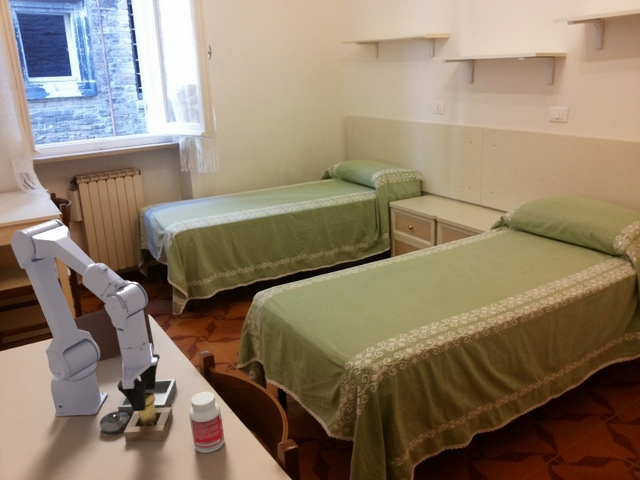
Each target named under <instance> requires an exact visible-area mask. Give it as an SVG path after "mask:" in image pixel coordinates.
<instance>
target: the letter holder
mask: <svg viewBox="0 0 640 480" xmlns="http://www.w3.org/2000/svg"><path fill="white" fill-rule="evenodd" d="M142 310H143V312H144V317H145V323H146V328H147V334H148V340H149V344H152V346H153V349H154V347H155V345H154V339H153V332H152V327H151V322H150V317H149V309H148V307H147V306H146V307H144V308H143V309H142ZM73 319H74V321H75V323H76V326H77V328H78V329H79V330H83V331H87V332H89V333H90V335H91V337H92V338H93V340H94V341H95V342H96V344H97V345H98V347H99V350H100V359H99V360H98V361H97V362H100V361H104V360H108V359H111V358H112V359H113V358H116V357H120V356H121V351H120V345H119V340H118V335H117V330H116V327H114V325H113V324H112V320H111V317H110V316H109V314H108V313H107V311H106V309H105V308H104V309H101V310H97V311H94V312H90V313H87V314H84V315H80V316H78V317H75V318H73ZM121 357H122V356H121Z"/></svg>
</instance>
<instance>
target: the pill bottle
mask: <svg viewBox="0 0 640 480" xmlns="http://www.w3.org/2000/svg"><path fill="white" fill-rule="evenodd" d="M190 401H191V407H190V410H189V412H188V413H189V414H188V415H189V420H190V428H191V433H192V440H193V446H194V448H195V449H196V451H198V452H200V453H203V454H204V453H205V454H206V453H212V452H216V451H218V449H220V448H221V447H223V445H224V443H225V434H224V427H223V419H222V413H221V407H220V405H219V404H218V402H216V397H215V394H214V393H213V392H211V391H202V392H198V393H196V394H194V395H193V396H192V397H191V399H190Z"/></svg>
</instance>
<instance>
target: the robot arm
mask: <svg viewBox="0 0 640 480" xmlns="http://www.w3.org/2000/svg"><path fill="white" fill-rule="evenodd" d="M10 245H11V247H12V248H11V249H12V251H13V254H14V256H15V258H16V260H17V262H18V265H19V267H20V269H23V270H24V269H25V272H26V274H27V276H28V279H29V281H30V283H31V286H32V289H33V290H34V294H35V296H36V299H37V300H38V303H39V305H40V307H41V310H42V312H43V315H44V317H45V319H46V322H47V325H48V327H49V329H50V332H51V334H52V340H51V341H50V343H49V345H48V346H47V348H46V349H45V353H46V357H47V360H48V368H49V371H50V373H51V374H52V375H53V376H52V377H51V382H50V391H51V392H50V393H51V396H52V401H53V405H54V408H55V413H54V416H55V417H70V416H85V415H87V416H88V415H89V416H91V415H96V414H98V411H99V410H100V408H101V407H102V405H103V404H104V401H105V400H106V399H107V397H108V395H109V394H108V392H101V391H100V387H99V382H98V378H97V373H96V368H97V367H98V364H97V362H99V361H98V360H99V359H100V350H99V347H98V345H97V344H96V342H95V341H94V340H93V338H92V337H91V335H90V333H89V332H87V331H83V330H79V329H78V328H77V326H76V323H75V321H74V319H75V318H74V316H73V314H72V311H71V309H70V306H69V303H68V301H67V299H66V296H65V294H64V292H63V290H62V287H61V284H60V282H59V280H58V275H56V272H55V269H54V266H53V263H54V262H55V258H57V259H58V260H59V261H60V262H62V263H64V264H65V265H66V266H67V267H69V268H71V269H72V270H74V271H75V272H76V273H78V274H79V275H81V276H82V280H81V281H82V285H83V286H85V288H87V289H88V290H89V291H90V292H91V293H93V294H94V295H95V296H96V297H97V298H99V300H101V301H102V302H103V303H104V310H105V309H106V311H107V313H108V314H109V316H110V317H111V320H112V324H113V325H114V327H116V330H117V335H118V340H119V345H120V351H121V361H122V364H121V366H122V379H121V380H119V382H118V383H117V390H118V391H119V392H121V393H122V395H123V396H124V395H125V396H126V398H127V399H128V401H129V402H130V404H131V406H132V408H133V410H134V411H144V409H145V390H150V389H154V388H155V381H156V380H157V378H156V377H157V369H158V364H159V360H160V358H161V357H160V356H161V355H159V354H157V353H156V354H155V353H154V348H153V346H152V344H149V340H148V334H147V328H146V323H145V317H144V312H143V310H142V309H143V308H144V307H147V306H148V302H149V298H148V295H147V292H146V290H145V289H144V287H143V286H142V285H141V284H140V283H138V282H136V281H130V280H129V279H128V280H124V279H123V278H122V276H121V277H120V275H118V274H117V273H116V272H115V271H114V270H112V269H111V268H110V267H109V266H108V265H107V264H105V263H103V262H97V263H96V262H95V261H94V260H93V259H91V257H89V255H87V254H86V253H85V252H84V251H83V250H82V249H81V247H79V245H78V244H77V243H75V242H74V240H72V235H71V231H70V229H69V228H68V226H66V225H65V223H63V222H62V221H61V220H60V219H58V218H51V219H50V220H49V221H45V222H42V223H39V224H35V225H33V226H30V227H27V228H23V229H20V230H19V229H18V230H16V231H14V232H13V235H12V238H11V241H10ZM153 353H154V354H153ZM138 377H139V378H140V379H138Z"/></svg>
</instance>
